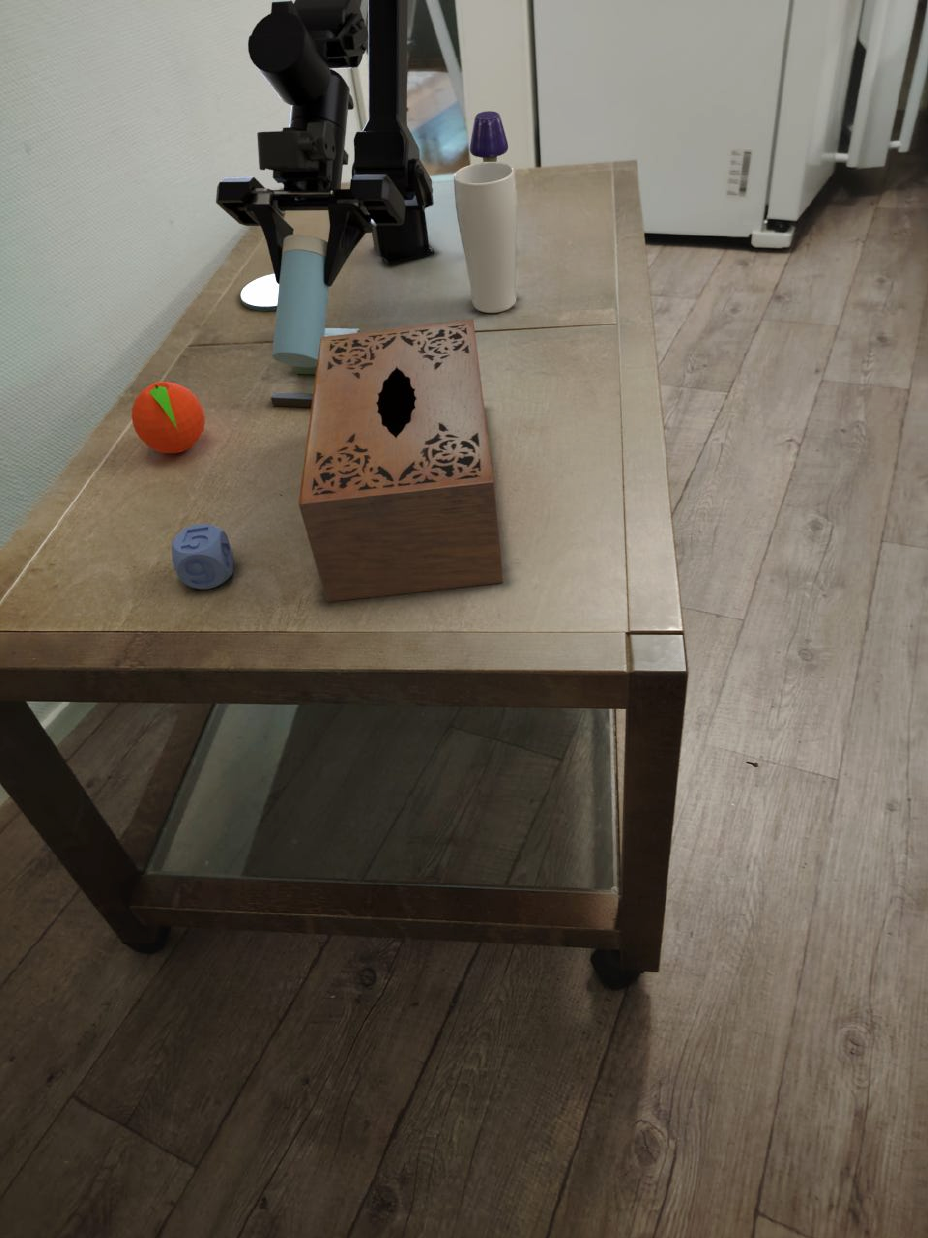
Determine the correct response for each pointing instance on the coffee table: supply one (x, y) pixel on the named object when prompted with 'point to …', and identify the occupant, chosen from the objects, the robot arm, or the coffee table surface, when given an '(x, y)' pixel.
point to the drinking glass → (488, 232)
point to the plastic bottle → (301, 301)
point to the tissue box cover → (400, 464)
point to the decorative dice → (202, 556)
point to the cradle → (305, 398)
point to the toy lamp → (488, 137)
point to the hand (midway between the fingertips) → (303, 284)
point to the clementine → (168, 417)
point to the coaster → (261, 294)
